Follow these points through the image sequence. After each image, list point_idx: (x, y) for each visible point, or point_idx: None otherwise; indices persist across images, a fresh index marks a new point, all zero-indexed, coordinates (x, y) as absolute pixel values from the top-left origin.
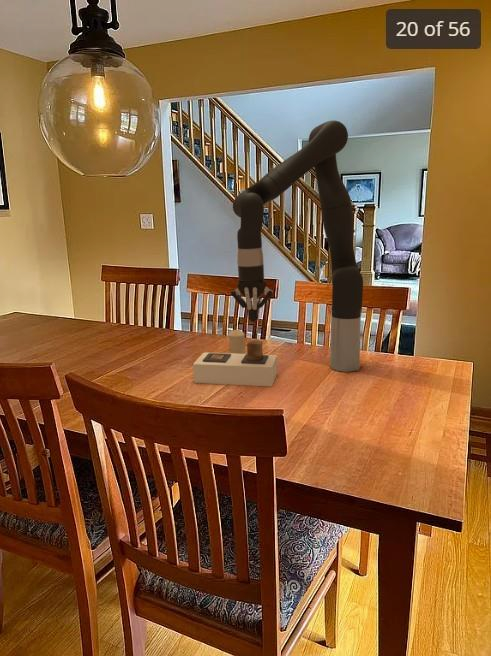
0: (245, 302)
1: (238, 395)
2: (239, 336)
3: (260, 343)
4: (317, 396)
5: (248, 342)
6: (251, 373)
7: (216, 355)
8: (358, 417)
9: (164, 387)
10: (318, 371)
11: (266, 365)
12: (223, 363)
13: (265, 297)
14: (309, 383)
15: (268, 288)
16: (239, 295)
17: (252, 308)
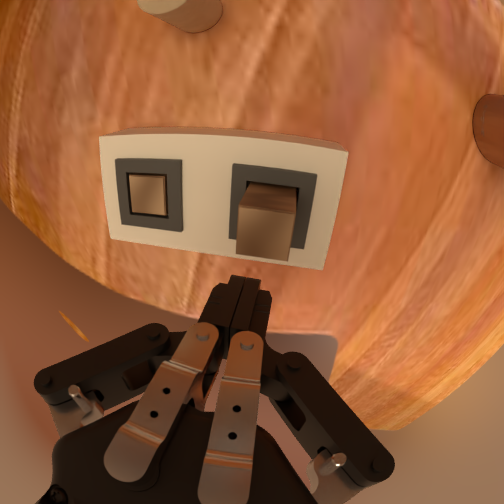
0: (155, 353)
1: None
2: (179, 7)
3: (288, 247)
4: (401, 291)
5: (238, 238)
6: None
7: (141, 183)
8: (423, 349)
9: (98, 241)
10: (444, 143)
11: (308, 255)
12: (179, 235)
13: (315, 450)
14: (408, 225)
15: (346, 500)
16: (93, 384)
17: (223, 340)
